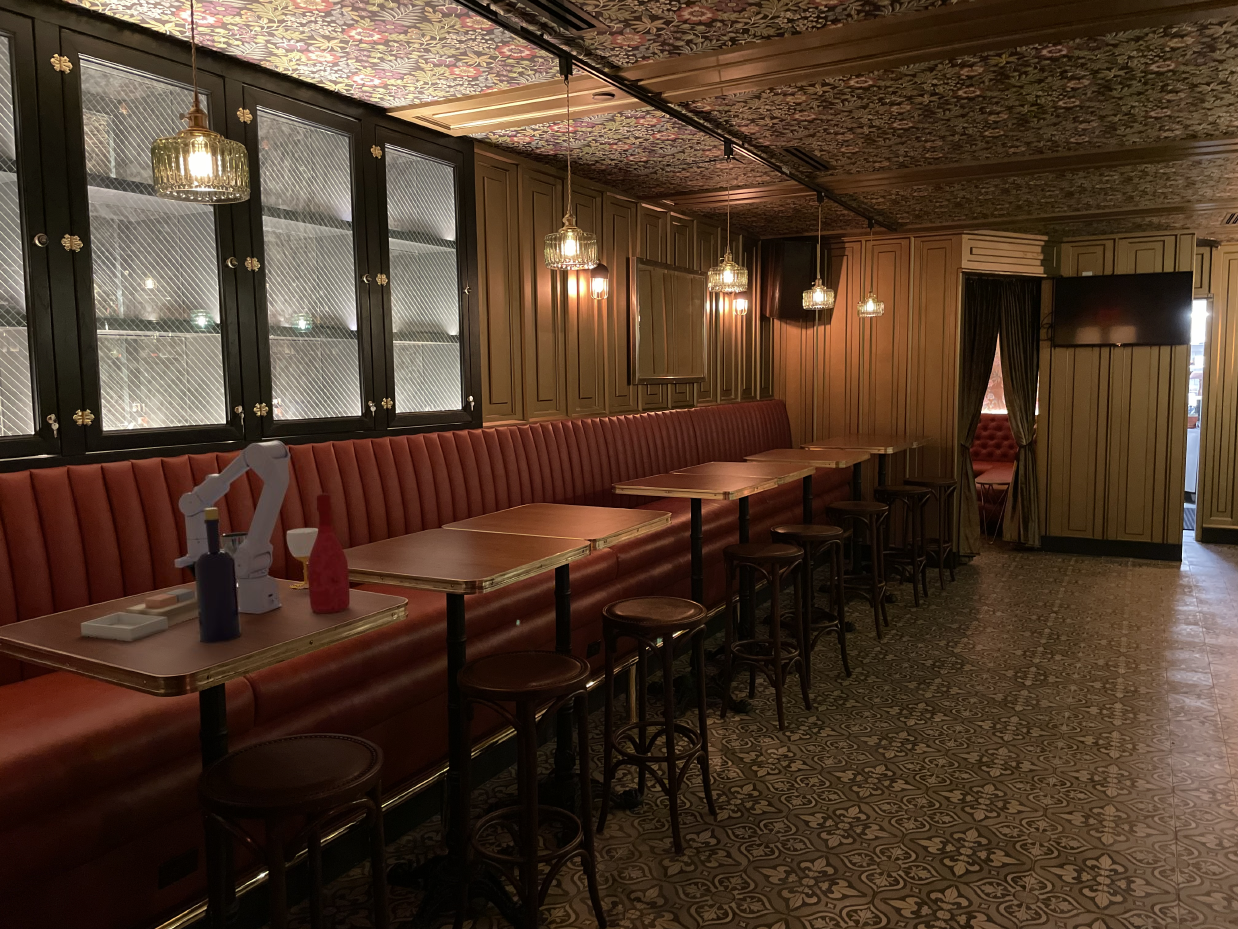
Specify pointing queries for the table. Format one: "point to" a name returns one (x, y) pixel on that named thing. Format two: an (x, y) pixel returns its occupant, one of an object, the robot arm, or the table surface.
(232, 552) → the wine glass
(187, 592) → the slate tile
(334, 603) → the wine bottle
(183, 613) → the board
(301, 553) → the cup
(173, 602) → the terracotta tile
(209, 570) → the bottle
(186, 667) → the table surface
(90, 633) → the box
